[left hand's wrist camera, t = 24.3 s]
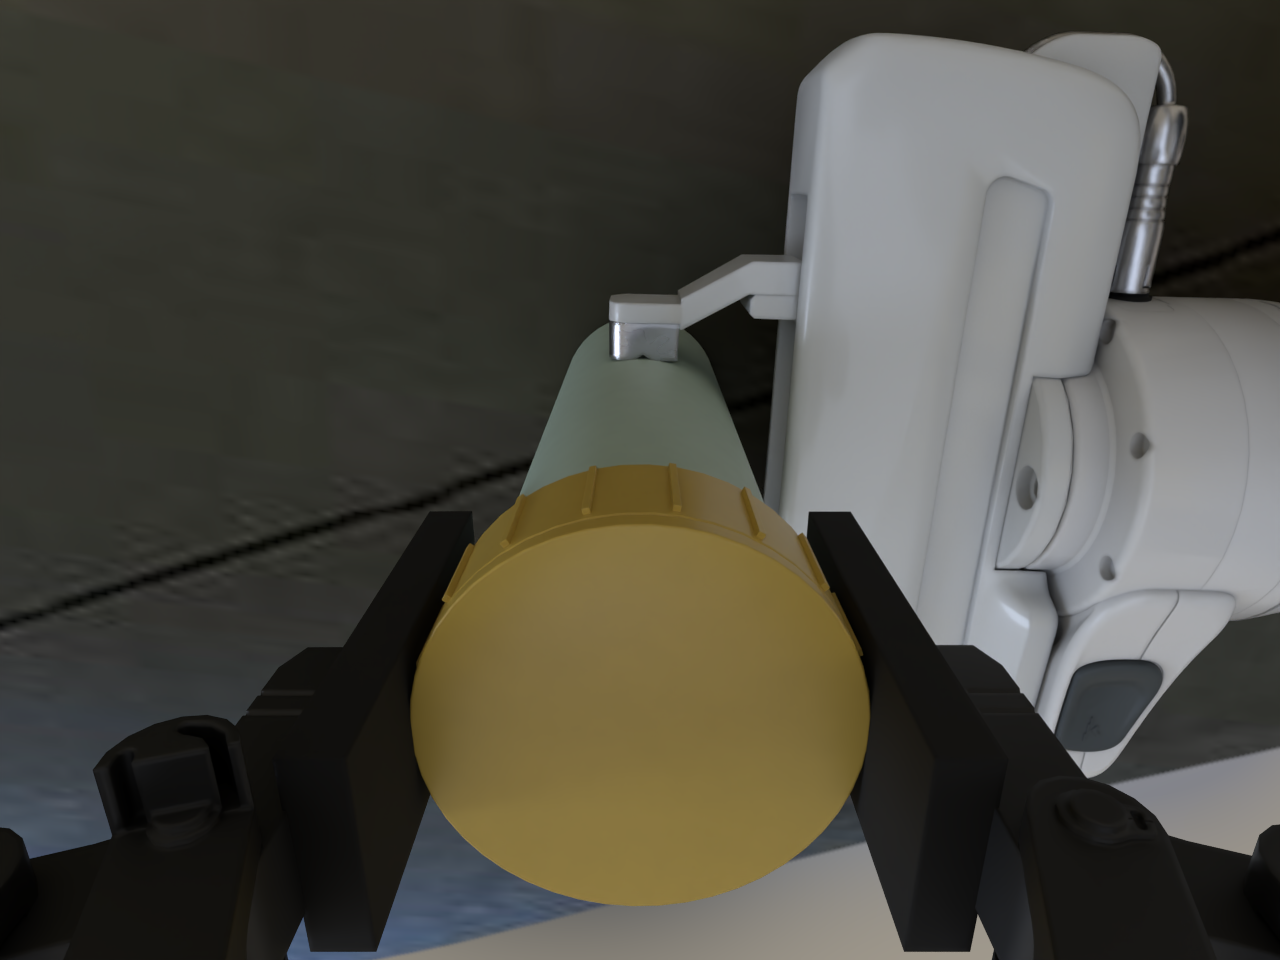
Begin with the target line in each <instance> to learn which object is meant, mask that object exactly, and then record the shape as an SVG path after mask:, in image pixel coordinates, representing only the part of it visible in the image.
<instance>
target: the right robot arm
mask: <svg viewBox="0 0 1280 960" xmlns="http://www.w3.org/2000/svg"><path fill="white" fill-rule="evenodd" d="M1154 89H1156V101H1157V105H1153V106H1151V102H1152V98H1153V93H1154ZM1176 102H1177V88H1176V79H1175V76H1174V73H1173V69H1172V67H1171V65H1170V62H1169V61H1168V59H1167V58H1166V56H1165V55H1164V53H1163V52H1162V51H1161V50H1160V48H1159V46H1158V45H1157V44H1156V43H1154V42H1153V41H1151V40H1149V39H1146V38H1144V37H1142V36H1139V35H1135V34H1131V33H1128V32H1093V31H1066V32H1060V33H1056V34H1053V35H1050V36H1047V37H1045V38H1043V39H1041V40H1039V41H1037V42H1035V43H1034V44H1032V45H1031V46H1029V47H1028V48H1027V49H1025V50H1024V51H1018V50H1013V49H1008V48H1003V47H998V46H992V45H987V44H981V43H975V42H969V41H963V40H955V39H948V38H940V37H932V36H921V35H910V34H896V33H870V34H866V35H861V36H858V37H855V38H852V39H850V40H848V41H846V42H844V43H843V44H841V45H840V46H838V47H837V48H836V49H834V50H833V51H832V52H831V53H829V54H828V55H827V56H826V57H825V58H824V59H823V60H821V61H820V62H819V63H818V65H817V66H816V67H815V68H814V69H813V70H812V71H811V72H810V73H809V74H808V75H807V76H806V77H805V78H804V79H803V81H802V82H801V84H800V87H799V90H798V95H797V105H796V117H795V128H794V140H793V152H792V164H791V176H790V188H789V199H788V211H787V223H786V235H785V247H784V255H750V254H742V255H740V256H738V257H736V258H734V259H733V260H731V261H729V262H727V263H726V264H724V265H722V266H720V267H718V268H717V269H715V270H713V271H711V272H710V273H708V274H706V275H704V276H702V277H701V278H699V279H697V280H695V281H693V282H692V283H690V284H688V285H686V286H685V287H683V288H681V289H679V290H678V295H661V294H617V295H611V297H610V301H609V357H611V358H612V359H618V360H634V359H635V360H636V359H637V358H639V357H640V356H642V355H644V356H646V357H647V358H648V359H650V360H655V361H677V357H678V341H679V327H680V330H683V329H685V328H686V327H688V326H690V325H692V324H694V323H696V322H698V321H700V320H702V319H704V318H706V317H707V316H709V315H711V314H713V313H715V312H717V311H719V310H721V309H723V308H725V307H726V306H728V305H730V304H732V303H734V302H736V301H738V300H740V302H741V304H742V305H743V306H744V307H745V309H746V310H747V311H748V312H749V314H750V315H751V316H752V317H753V318H757V319H778V330H777V341H776V353H775V365H774V377H773V389H772V401H771V413H770V424H769V436H768V448H767V460H766V472H765V484H764V495H763V501H764V504H766V505H767V506H769V507H770V508H771V509H773V510H774V511H775V512H776V513H777V514H778V515H779V516H780V517H781V518H783V519H784V520H785V521H786V522H787V523H788V524H789V525H790V526H791V527H792V528H793V529H794V531H795V532H796V533H797V534H798V535H799V534H801V533H803V534H804V535H805V536H806V538H807V526H808V513H809V511H827V512H851V513H852V514H853V516H854V518H855V519H856V521H857V522H858V524H859V525H860V527H861V529H862V530H863V532H864V533H865V535H866V536H867V538H868V539H869V541H870V543H871V544H872V546H873V547H874V549H875V550H876V552H877V554H878V555H879V557H880V558H881V560H882V561H883V563H884V565H885V566H886V568H887V569H888V571H889V572H890V574H891V575H892V577H893V579H894V580H895V582H896V583H897V585H898V586H899V588H900V590H901V591H902V593H903V594H904V596H905V597H906V599H907V601H908V602H909V604H910V605H911V607H912V608H913V610H914V611H915V613H916V615H917V616H918V618H919V619H920V621H921V622H922V624H923V626H924V627H925V629H926V630H927V632H928V633H929V635H930V637H931V638H932V640H933V641H934V643H935V644H936V645H974V646H975V647H977V648H978V649H980V650H981V651H983V652H984V653H985V654H987V655H988V656H990V657H991V658H993V659H994V660H996V661H997V662H999V663H1000V664H1001V665H1003V667H1004V668H1005V669H1006V671H1007V672H1008V673H1009V675H1010V676H1011V677H1012V679H1013V680H1014V681H1015V683H1016V684H1017V685H1018V687H1019V688H1020V693H1024V695H1025V696H1026V697H1027V699H1028V700H1029V701H1030V703H1031V704H1032V705H1033V707H1034V711H1035V713H1039V715H1040V716H1041V717H1042V719H1043V720H1044V721H1045V723H1046V724H1047V725H1048V727H1049V728H1050V729H1051V731H1052V732H1053V733H1054V735H1055V736H1056V737H1057V739H1058V740H1059V741H1060V743H1061V744H1062V745H1063V747H1064V748H1065V749H1066V751H1067V752H1068V753H1069V755H1070V756H1071V757H1072V759H1073V760H1074V761H1075V763H1076V764H1077V765H1078V767H1079V768H1080V769H1081V771H1082V772H1083V773H1084V775H1085V776H1086V777H1087V778H1089V777H1094V776H1096V775H1098V774H1100V773H1102V772H1104V771H1105V770H1106V769H1107V768H1108V767H1109V766H1110V765H1111V764H1112V763H1113V762H1114V761H1115V760H1116V758H1117V757H1118V756H1119V754H1120V753H1121V752H1122V750H1123V749H1124V747H1125V746H1126V744H1127V743H1128V742H1129V740H1130V739H1131V737H1132V736H1133V734H1134V733H1135V731H1136V730H1137V729H1138V727H1139V726H1140V724H1141V723H1142V722H1143V720H1144V719H1145V717H1146V716H1147V715H1148V713H1149V712H1150V710H1151V709H1152V708H1153V707H1154V705H1155V704H1156V703H1157V701H1158V700H1159V699H1160V697H1161V696H1162V695H1163V693H1164V692H1165V691H1166V690H1167V689H1168V687H1169V686H1170V685H1171V684H1172V683H1173V681H1174V680H1175V679H1176V678H1177V676H1178V675H1179V674H1180V673H1181V672H1182V671H1183V670H1184V669H1185V668H1186V666H1187V665H1188V664H1189V663H1190V662H1191V661H1192V660H1193V659H1194V658H1195V657H1196V656H1197V655H1198V654H1199V653H1200V652H1201V651H1202V650H1203V649H1204V648H1205V647H1206V646H1207V645H1208V644H1209V643H1210V642H1211V641H1212V640H1213V639H1214V638H1215V637H1216V636H1217V635H1218V634H1219V633H1220V632H1221V631H1222V629H1223V628H1224V627H1225V625H1226V624H1227V623H1228V621H1237V620H1244V619H1250V618H1255V617H1260V616H1264V615H1269V614H1273V613H1278V612H1280V303H1279V302H1273V301H1265V300H1257V299H1239V298H1197V297H1156V296H1149V292H1150V288H1151V284H1152V280H1153V276H1154V272H1155V268H1156V264H1157V259H1158V255H1159V251H1160V247H1161V243H1162V239H1163V233H1164V227H1165V222H1164V219H1166V210H1165V208H1166V207H1167V203H1168V199H1166V197H1167V196H1168V195H1169V190H1170V187H1169V185H1170V184H1171V182H1172V178H1173V174H1174V171H1175V167H1176V165H1179V164H1180V161H1181V158H1182V156H1183V152H1184V149H1185V145H1186V140H1187V136H1188V129H1189V107H1188V106H1186V105H1176Z"/></svg>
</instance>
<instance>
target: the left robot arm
mask: <svg viewBox="0 0 1280 960" xmlns="http://www.w3.org/2000/svg"><path fill="white" fill-rule="evenodd" d="M807 540H808V542H809V544H810V546H811V548H812V551H813V553H814V555H815V557H816V559H817V561H818V563H819V566H820V568H821V570H822V572H823V574H824V576H825V578H826V581H827V583H828V585H829V587H830V588H829V590H830V592H831V593H835V594H836V596H837V598H838V600H839V602H840V605H841V607H842V609H843V611H844V613H845V615H846V617H847V619H848V621H849V624H850V626H851V628H852V630H853V632H854V634H855V636H856V638H857V640H858V643H859V645H860V647H861V649H862V652H863V656H860V659H861V661H862V664H863V666H864V670H865V675H866V679H867V684H868V688H869V695H870V724H869V733H868V741H867V749H866V753H865V757H864V761H863V765H862V768H861V771H860V773H859V775H858V778H857V780H856V783H855V785H854V787H853V790H852V791H851V793H850V795H851V798H852V801H853V804H854V807H855V810H856V813H857V815H858V818H859V821H860V824H861V827H862V830H863V833H864V836H865V839H866V842H867V845H868V847H869V850H870V853H871V856H872V859H873V862H874V865H875V868H876V871H877V874H878V877H879V880H880V883H881V885H882V888H883V891H884V894H885V897H886V900H887V903H888V906H889V909H890V912H891V915H892V918H893V920H894V923H895V926H896V929H897V932H898V935H899V938H900V941H901V944H902V947H903V950H904V952H970V949H971V944H972V939H973V934H974V930H975V924H976V920H977V915H979V917H980V920H981V922H982V924H983V926H984V928H985V930H986V933H987V935H988V937H989V939H990V941H991V944H992V946H993V948H994V952H993V957H992V960H1280V825H1272V826H1271V827H1269V828H1268V829H1267V830H1265V831H1264V832H1263V833H1261V834H1260V835H1259V838H1258V841H1257V843H1256V846H1255V849H1254V852H1253V855H1252V856H1250V855H1246V854H1242V853H1237V852H1233V851H1229V850H1224V849H1220V848H1216V847H1211V846H1207V845H1202V844H1198V843H1194V842H1189V841H1185V840H1182V839H1179V838H1175V837H1172V836H1169V835H1168V834H1167V833H1166V831H1165V830H1164V828H1163V827H1162V825H1161V824H1160V822H1159V821H1158V819H1157V818H1156V816H1155V815H1154V814H1153V813H1151V812H1150V811H1149V810H1148V809H1147V808H1145V807H1144V806H1143V805H1142V804H1140V803H1139V802H1138V801H1137V800H1136V799H1134V798H1133V797H1131V796H1129V795H1127V794H1125V793H1123V792H1121V791H1119V790H1117V789H1115V788H1114V787H1112V786H1110V785H1107V784H1103V783H1100V782H1097V781H1093V780H1090V779H1087V777H1086V776H1085V775H1084V773H1083V772H1082V771H1081V769H1080V768H1079V767H1078V765H1077V764H1076V763H1075V761H1074V760H1073V759H1072V757H1071V756H1070V755H1069V753H1068V752H1067V751H1066V749H1065V748H1064V747H1063V745H1062V744H1061V743H1060V741H1059V740H1058V739H1057V737H1056V736H1055V735H1054V733H1053V732H1052V731H1051V729H1050V728H1049V727H1048V725H1047V724H1046V723H1045V721H1044V720H1043V719H1042V717H1041V716H1040V715H1039V713H1035V711H1034V707H1033V705H1032V704H1031V703H1030V701H1029V700H1028V699H1027V697H1026V696H1025V695H1024V693H1020V688H1019V687H1018V685H1017V684H1016V683H1015V681H1014V680H1013V679H1012V677H1011V676H1010V675H1009V673H1008V672H1007V671H1006V669H1005V668H1004V667H1003V665H1001V664H1000V663H999V662H997V661H996V660H994V659H993V658H991V657H990V656H988V655H987V654H985V653H984V652H983V651H981V650H980V649H978V648H977V647H975V646H974V645H936V644H935V643H934V641H933V640H932V638H931V637H930V635H929V633H928V632H927V630H926V629H925V627H924V626H923V624H922V622H921V621H920V619H919V618H918V616H917V615H916V613H915V611H914V610H913V608H912V607H911V605H910V604H909V602H908V601H907V599H906V597H905V596H904V594H903V593H902V591H901V590H900V588H899V586H898V585H897V583H896V582H895V580H894V579H893V577H892V575H891V574H890V572H889V571H888V569H887V568H886V566H885V565H884V563H883V561H882V560H881V558H880V557H879V555H878V554H877V552H876V550H875V549H874V547H873V546H872V544H871V543H870V541H869V539H868V538H867V536H866V535H865V533H864V532H863V530H862V529H861V527H860V525H859V524H858V522H857V521H856V519H855V518H854V516H853V514H852V513H851V512H827V511H809V513H808V526H807ZM469 543H471V544H472V545H475V544H474V532H473V519H472V511H435V512H429V514H428V515H427V517H426V518H425V520H424V522H423V523H422V525H421V526H420V528H419V529H418V531H417V532H416V534H415V536H414V537H413V539H412V540H411V542H410V543H409V545H408V547H407V548H406V550H405V551H404V553H403V554H402V556H401V558H400V559H399V561H398V562H397V564H396V565H395V567H394V568H393V570H392V572H391V573H390V575H389V576H388V578H387V579H386V581H385V583H384V584H383V586H382V587H381V589H380V590H379V592H378V594H377V595H376V597H375V598H374V600H373V601H372V603H371V604H370V606H369V608H368V609H367V611H366V612H365V614H364V615H363V617H362V619H361V620H360V622H359V623H358V625H357V626H356V628H355V630H354V631H353V633H352V634H351V636H350V637H349V639H348V640H347V642H346V644H345V645H344V647H308V648H306V649H305V650H303V651H302V652H300V653H299V654H298V655H296V656H295V657H293V658H292V659H290V660H289V661H287V662H286V663H285V664H283V665H282V666H280V667H279V668H278V669H277V671H276V672H275V673H274V675H273V676H272V677H271V679H270V680H269V681H268V683H267V684H266V685H265V687H264V688H263V689H262V691H261V696H257V697H256V699H255V700H254V701H253V703H252V704H251V705H250V707H249V708H248V709H247V714H246V716H242V718H241V719H240V720H239V722H238V723H237V724H236V726H234V725H233V724H232V723H231V722H230V721H228V720H227V719H223V718H219V717H214V716H209V715H201V716H186V717H179V718H176V719H172V720H168V721H164V722H161V723H157V724H154V725H152V726H150V727H147V728H145V729H143V730H141V731H139V732H137V733H134V734H132V735H130V736H128V737H127V738H125V739H124V740H123V741H121V742H120V743H119V744H117V745H116V746H114V747H113V748H112V749H110V750H109V751H108V752H106V753H105V755H104V756H103V757H102V759H101V760H100V761H99V763H98V764H97V765H96V766H95V768H94V769H93V773H94V776H95V779H96V783H97V786H98V789H99V793H100V796H101V799H102V803H103V806H104V809H105V813H106V816H107V819H108V823H109V826H110V829H111V833H112V838H111V839H110V840H106V841H103V842H100V843H96V844H92V845H88V846H84V847H79V848H75V849H71V850H66V851H62V852H58V853H53V854H49V855H45V856H40V857H36V858H32V859H30V858H29V856H28V853H27V850H26V847H25V844H24V841H23V839H22V838H21V837H20V836H19V835H18V834H16V833H15V832H14V831H12V830H11V829H9V828H0V960H288V957H287V951H288V949H289V947H290V944H291V942H292V940H293V938H294V936H295V933H296V931H297V929H298V927H299V925H300V923H301V920H302V918H303V917H304V922H305V927H306V932H307V937H308V942H309V947H310V952H376V951H377V948H378V945H379V942H380V939H381V936H382V934H383V931H384V928H385V925H386V922H387V919H388V916H389V913H390V910H391V907H392V904H393V901H394V899H395V896H396V893H397V890H398V887H399V884H400V881H401V878H402V875H403V872H404V869H405V866H406V864H407V861H408V858H409V855H410V852H411V849H412V846H413V843H414V840H415V837H416V834H417V831H418V829H419V826H420V823H421V820H422V817H423V814H424V811H425V808H426V805H427V802H428V799H429V796H430V792H429V790H428V788H427V786H426V784H425V782H424V779H423V777H422V775H421V772H420V769H419V766H418V763H417V759H416V756H415V752H414V744H413V736H412V728H411V719H410V698H411V692H412V686H413V680H414V675H415V672H416V669H417V667H416V662H417V660H418V658H419V655H420V653H421V651H422V649H423V647H424V645H425V643H426V640H427V638H428V636H429V634H430V632H431V630H432V627H433V625H434V623H435V621H436V619H437V617H438V615H439V612H440V610H441V608H442V606H443V605H444V603H445V602H444V601H442V598H443V596H444V594H445V592H446V590H447V588H448V586H449V583H450V581H451V579H452V577H453V575H454V573H455V571H456V569H457V567H458V564H459V562H460V560H461V558H462V556H463V554H464V552H465V550H466V548H467V546H468V545H469Z"/></svg>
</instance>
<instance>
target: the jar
mask: <svg viewBox="0 0 1280 960" xmlns="http://www.w3.org/2000/svg"><path fill="white" fill-rule="evenodd" d="M669 463H674V464H676V465H677V467H678V468H683V469H687V470H691V471H696V472H700V473H704V474H707V475H709V476H712V477H715V478H718V479H720V480H723V481H726V482H728V483H730V484H732V485H734V486H736V487H738V488H740V489H743V488H744V487H747V488H748V489H750V490H751V493H752V495H753V496H754V497H756V498H757V499H759V500H760V501H761V502H763V503H764V501H763V499H762V496H761V494H760V491H759V488H758V486H757V483H756V481H755V478H754V475H753V473H752V470H751V468H750V465H749V462H748V460H747V457H746V455H745V452H744V449H743V447H742V444H741V442H740V439H739V436H738V434H737V431H736V429H735V426H734V424H733V421H732V418H731V416H730V413H729V411H728V408H727V405H726V403H725V400H724V398H723V395H722V392H721V390H720V387H719V385H718V382H717V379H716V377H715V374H714V372H713V369H712V367H711V364H710V361H709V359H708V357H707V355H706V353H705V351H704V350H703V348H702V347H701V346H700V344H699V343H698V342H697V341H696V340H695V339H694V338H693V337H692V336H691V335H690V334H689V333H688V332H686V331H685V330H684V329H683V330H680V327H679V341H678V357H677V361H655V360H650V359H648V358H647V357H646V356H644V355H642V356H640V357H639V358H637V359H636V360H635V359H634V360H618V359H612V358H611V357H609V323H607V324H605V325H604V326H602V327H600V328H598V329H597V330H596V331H594V332H593V333H592V334H591V335H589V336H588V338H587V339H586V340H585V341H584V342H583V343H582V344H581V345H580V347H579V348H578V349H577V351H576V353H575V355H574V356H573V358H572V361H571V363H570V366H569V368H568V371H567V374H566V376H565V379H564V381H563V384H562V387H561V389H560V392H559V394H558V397H557V399H556V402H555V405H554V407H553V410H552V412H551V415H550V418H549V420H548V423H547V425H546V428H545V430H544V433H543V436H542V438H541V441H540V443H539V446H538V449H537V451H536V454H535V456H534V459H533V461H532V464H531V467H530V469H529V472H528V474H527V477H526V480H525V482H524V485H523V487H522V490H521V492H520V495H522V494H524V495H525V496H528V495H530V494H531V493H533V492H535V491H537V490H538V489H540V488H542V487H544V486H546V485H548V484H551V483H553V482H555V481H558V480H560V479H563V478H565V477H567V476H571V475H574V474H578V473H581V472H585V471H588V470H589V467H590V466H595V465H596V467H597V468H604V467H611V466H617V465H640V464H651V465H661V466H669ZM520 495H519V496H520Z"/></svg>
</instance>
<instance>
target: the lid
mask: <svg viewBox="0 0 1280 960" xmlns="http://www.w3.org/2000/svg"><path fill="white" fill-rule="evenodd" d="M829 588H830V587H829V585H828V583H827V581H826V578H825V576H824V574H823V572H822V570H821V568H820V566H819V563H818V561H817V559H816V557H815V555H814V553H813V551H812V548H811V546H810V544H809V542H808V540H807V538H806V536H805V535H804V534H803V533H801V534H799V535H798V534H797V533H796V532H795V531H794V529H793V528H792V527H791V526H790V525H789V524H788V523H787V522H786V521H785V520H784V519H783V518H781V517H780V516H779V515H778V514H777V513H776V512H775V511H774V510H773V509H771V508H770V507H769V506H767V505H766V504H764V503H763V502H761V501H760V500H759V499H757V498H756V497H754V496H753V495H752V493H751V490H750V489H748V488H747V487H744V488H743V489H740V488H738V487H736V486H734V485H732V484H730V483H728V482H726V481H723V480H720V479H718V478H715V477H712V476H709V475H707V474H704V473H700V472H696V471H691V470H687V469H683V468H678V467H677V465H676V464H674V463H669V466H661V465H651V464H640V465H617V466H611V467H604V468H597V467H596V465H595V466H590V467H589V470H588V471H585V472H581V473H578V474H574V475H571V476H567V477H565V478H563V479H560V480H558V481H555V482H553V483H551V484H548V485H546V486H544V487H542V488H540V489H538V490H537V491H535V492H533V493H531V494H530V495H528V496H525V495H524V494H522V495H520V496H519V497H518V498H517V500H516V503H515V505H513V506H512V507H511V508H510V509H508V510H507V511H506V512H504V513H503V514H502V515H501V516H500V517H499V518H498V519H497V520H496V521H495V522H494V523H493V524H492V525H491V526H490V527H489V528H488V529H487V530H486V531H485V532H484V533H483V534H482V536H481V537H480V539H479V540H478V541H477V543H476V544H475V545H472V544H471V543H469V545H468V546H467V548H466V550H465V552H464V554H463V556H462V558H461V560H460V562H459V564H458V567H457V569H456V571H455V573H454V575H453V577H452V579H451V581H450V583H449V586H448V588H447V590H446V592H445V594H444V596H443V598H442V601H444V602H445V603H444V605H443V606H442V608H441V610H440V612H439V615H438V617H437V619H436V621H435V623H434V625H433V627H432V630H431V632H430V634H429V636H428V638H427V640H426V643H425V645H424V647H423V649H422V651H421V653H420V655H419V658H418V660H417V662H416V667H417V669H416V672H415V675H414V680H413V686H412V692H411V698H410V719H411V728H412V736H413V744H414V752H415V756H416V759H417V763H418V766H419V769H420V772H421V775H422V777H423V779H424V782H425V784H426V786H427V788H428V790H429V792H430V794H431V796H432V798H433V799H434V801H435V802H436V804H437V805H438V807H439V808H440V810H441V811H442V813H443V814H444V816H445V817H446V819H447V820H448V821H449V822H450V823H451V824H452V825H453V827H454V828H455V829H456V830H457V831H458V832H459V833H460V834H461V836H462V837H463V838H464V839H465V840H467V841H468V842H469V843H470V844H471V845H472V846H473V847H475V848H476V849H477V850H478V851H479V852H480V853H481V854H483V855H484V856H485V857H487V858H488V859H490V860H491V861H493V862H494V863H496V864H497V865H499V866H500V867H501V868H503V869H504V870H506V871H508V872H510V873H512V874H514V875H516V876H518V877H519V878H521V879H523V880H525V881H527V882H529V883H532V884H534V885H537V886H539V887H542V888H544V889H547V890H549V891H552V892H555V893H559V894H562V895H566V896H569V897H572V898H576V899H580V900H586V901H591V902H597V903H603V904H613V905H625V906H659V905H668V904H677V903H685V902H690V901H695V900H699V899H704V898H708V897H713V896H716V895H719V894H722V893H725V892H728V891H731V890H734V889H737V888H739V887H742V886H744V885H746V884H748V883H751V882H753V881H755V880H757V879H760V878H762V877H764V876H765V875H767V874H769V873H770V872H772V871H774V870H775V869H777V868H779V867H781V866H782V865H784V864H785V863H787V862H788V861H789V860H791V859H792V858H793V857H795V856H796V855H797V854H799V853H800V852H801V851H803V850H804V849H805V848H806V847H807V846H808V845H810V844H811V843H812V842H813V841H814V840H815V839H816V838H817V837H818V836H819V835H820V834H821V833H822V832H823V831H824V830H825V829H826V827H827V826H828V825H829V824H830V822H831V821H832V820H833V819H834V817H835V816H836V815H837V814H838V812H839V811H840V810H841V808H842V806H843V805H844V803H845V801H846V800H847V798H848V796H849V795H850V793H851V791H852V790H853V787H854V785H855V783H856V780H857V778H858V775H859V773H860V771H861V768H862V765H863V761H864V757H865V753H866V749H867V741H868V733H869V724H870V695H869V688H868V684H867V679H866V675H865V670H864V666H863V664H862V661H861V659H860V656H863V652H862V649H861V647H860V645H859V643H858V640H857V638H856V636H855V634H854V632H853V630H852V628H851V626H850V624H849V621H848V619H847V617H846V615H845V613H844V611H843V609H842V607H841V605H840V602H839V600H838V598H837V596H836V594H835V593H831V592H830V590H829Z"/></svg>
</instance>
